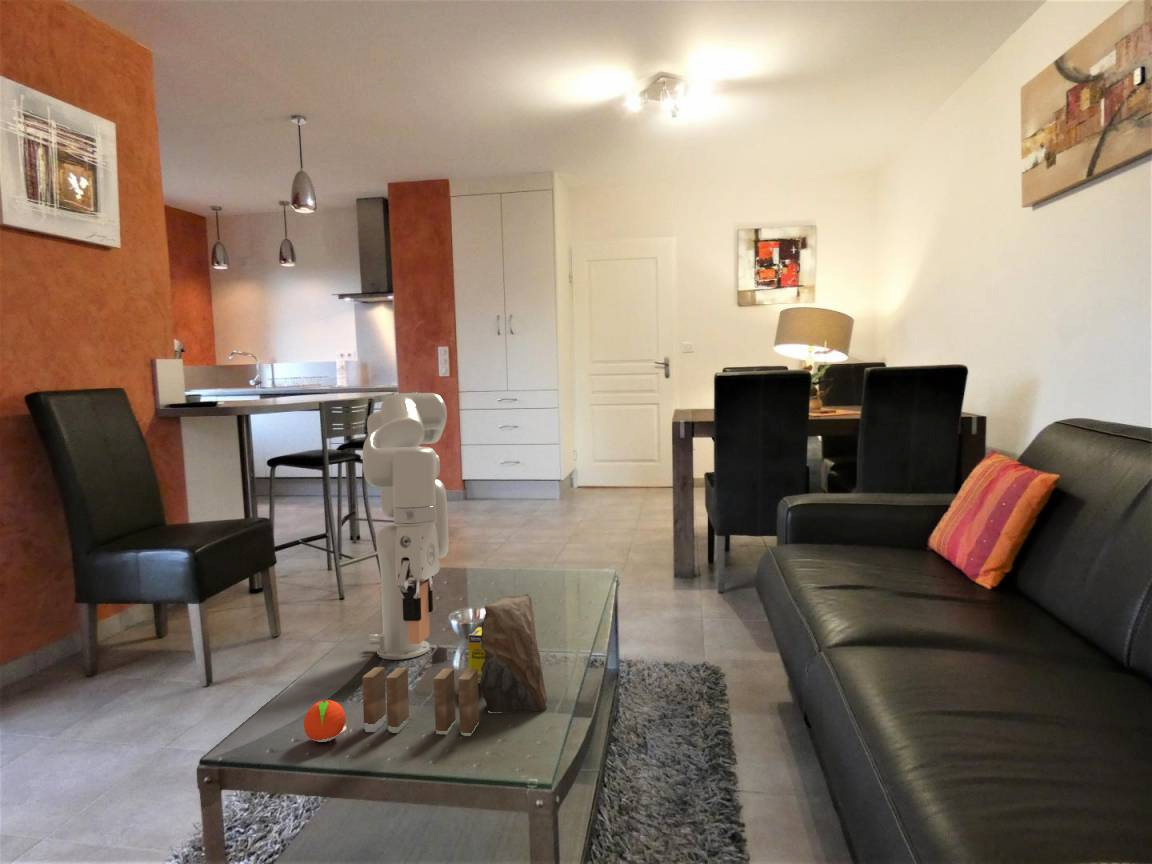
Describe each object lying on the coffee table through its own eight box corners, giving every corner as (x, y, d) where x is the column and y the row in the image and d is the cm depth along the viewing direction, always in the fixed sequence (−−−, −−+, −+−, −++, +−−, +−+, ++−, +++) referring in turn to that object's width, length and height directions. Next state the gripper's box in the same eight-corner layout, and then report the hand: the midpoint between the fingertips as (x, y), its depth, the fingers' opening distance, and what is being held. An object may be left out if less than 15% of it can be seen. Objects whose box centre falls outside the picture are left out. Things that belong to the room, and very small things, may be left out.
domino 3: (429, 635, 123) (427, 581, 123) (419, 643, 118) (417, 587, 118) (419, 635, 123) (417, 581, 123) (408, 643, 118) (406, 587, 118)
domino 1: (364, 732, 119) (362, 677, 119) (376, 720, 124) (374, 667, 124) (374, 732, 119) (372, 677, 119) (386, 720, 124) (384, 667, 124)
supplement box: (496, 688, 139) (494, 635, 139) (468, 686, 140) (467, 634, 140) (504, 677, 144) (503, 627, 144) (478, 676, 146) (477, 626, 146)
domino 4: (435, 735, 117) (433, 678, 118) (445, 722, 122) (443, 668, 122) (446, 735, 117) (444, 678, 117) (455, 723, 122) (453, 668, 122)
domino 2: (387, 733, 119) (385, 677, 119) (399, 721, 124) (397, 667, 124) (398, 733, 118) (396, 677, 119) (409, 721, 123) (407, 667, 123)
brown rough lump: (480, 715, 125) (477, 609, 125) (483, 690, 138) (480, 593, 138) (547, 710, 126) (543, 605, 126) (544, 685, 139) (540, 590, 139)
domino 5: (460, 735, 117) (458, 679, 117) (468, 723, 122) (467, 669, 122) (471, 736, 117) (469, 679, 117) (479, 723, 121) (477, 669, 121)
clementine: (344, 749, 113) (343, 707, 113) (301, 756, 111) (299, 713, 111) (347, 729, 121) (346, 690, 121) (306, 735, 119) (305, 696, 119)
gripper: (416, 521, 112) (420, 630, 111) (450, 510, 128) (453, 604, 128) (374, 522, 113) (378, 629, 113) (413, 511, 130) (416, 604, 129)
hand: (418, 615), depth 120 cm, fingers closed on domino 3, 4 cm apart
